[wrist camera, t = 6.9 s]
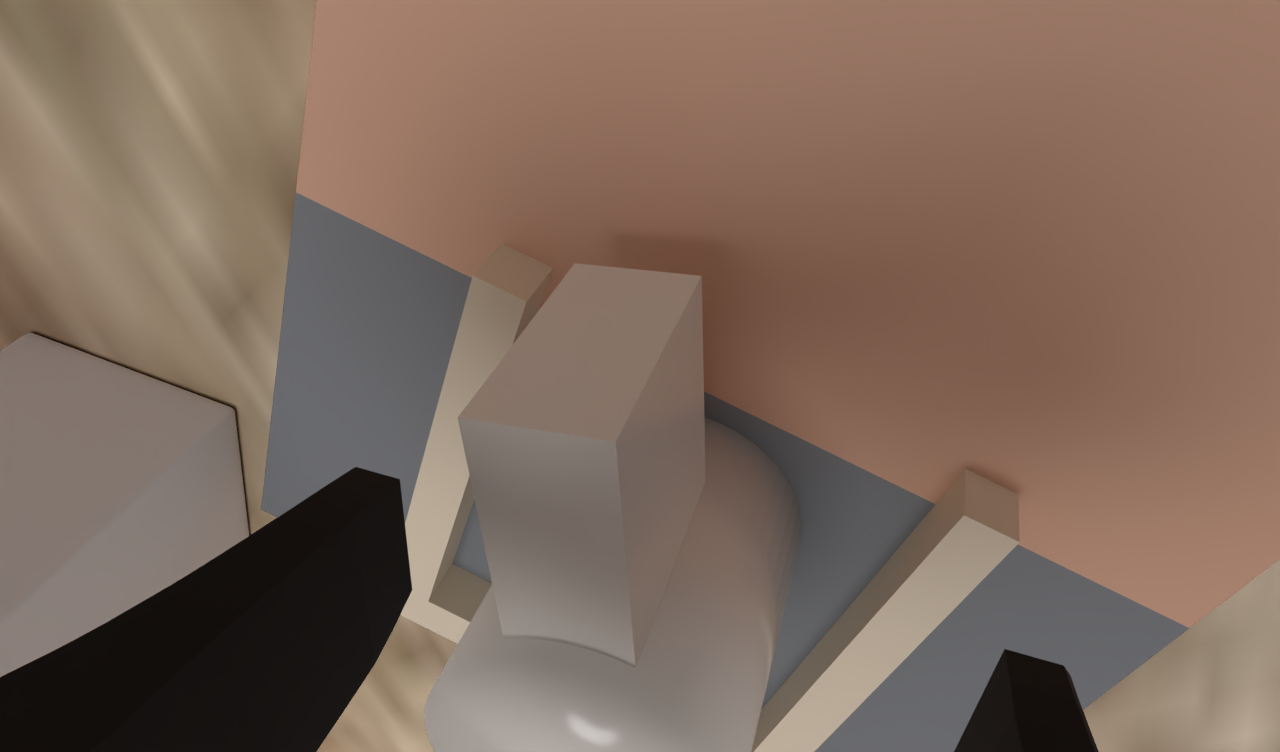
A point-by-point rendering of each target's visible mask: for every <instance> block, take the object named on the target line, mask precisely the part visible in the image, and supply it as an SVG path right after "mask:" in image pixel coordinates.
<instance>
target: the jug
mask: <svg viewBox="0 0 1280 752" xmlns="http://www.w3.org/2000/svg"><path fill="white" fill-rule="evenodd" d="M458 422H459V427H460V432H461V437H462V441H463V446H464V451H465V456H466V461H467V465H468V470H469V475H470V480H471V485H472V489H473V494H474V499H475V504H476V509H477V513H478V518H479V523H480V528H481V533H482V537H483V542H484V547H485V552H486V557H487V561H488V566H489V571H490V576H491V580H492V585H491V587H490V589H489V591H488V592H487V594H486V596H485V598H484V599H483V601H482V603H481V605H480V606H479V608H478V610H477V612H476V613H475V615H474V617H473V618H472V620H471V622H470V624H469V625H468V627H467V629H466V631H465V632H464V634H463V636H462V638H461V639H460V641H459V643H458V645H457V646H456V648H455V650H454V652H453V653H452V655H451V657H450V658H449V660H448V662H447V664H446V665H445V667H444V669H443V671H442V672H441V674H440V676H439V678H438V679H437V681H436V683H435V685H434V686H433V688H432V690H431V692H430V694H429V696H428V698H427V701H426V705H425V710H424V717H425V726H426V731H427V735H428V738H429V740H430V743H431V745H432V747H433V749H434V751H435V752H751V751H752V746H753V742H754V738H755V734H756V729H757V725H758V721H759V717H760V712H761V708H762V704H763V699H764V695H765V691H766V687H767V682H768V678H769V674H770V670H771V665H772V661H773V657H774V652H775V648H776V644H777V640H778V635H779V631H780V627H781V623H782V618H783V614H784V610H785V605H786V601H787V597H788V593H789V588H790V584H791V580H792V576H793V571H794V567H795V563H796V558H797V554H798V550H799V546H800V541H801V534H802V516H801V511H800V506H799V503H798V500H797V498H796V495H795V492H794V490H793V488H792V487H791V485H790V483H789V481H788V479H787V478H786V476H785V475H784V474H783V472H782V471H781V470H780V468H779V467H778V466H777V465H776V463H775V462H774V461H773V460H772V459H771V458H770V457H769V456H768V455H767V454H766V453H765V452H764V451H762V450H761V449H760V448H759V447H758V446H757V445H755V444H754V443H753V442H751V441H750V440H748V439H747V438H746V437H744V436H743V435H741V434H740V433H738V432H736V431H734V430H732V429H730V428H729V427H727V426H725V425H723V424H720V423H718V422H716V421H713V420H711V419H708V418H705V417H704V369H703V317H702V276H698V275H688V274H678V273H668V272H658V271H648V270H638V269H628V268H618V267H608V266H598V265H588V264H578V263H575V264H574V265H573V266H572V268H571V269H570V270H569V272H568V273H567V274H566V275H565V277H564V278H563V279H562V281H561V282H560V283H559V285H558V286H557V287H556V289H555V290H554V291H553V293H552V294H551V295H550V297H549V298H548V299H547V301H546V302H545V303H544V304H543V306H542V307H541V308H540V310H539V311H538V312H537V314H536V315H535V316H534V318H533V319H532V320H531V322H530V323H529V324H528V326H527V327H526V328H525V329H524V331H523V332H522V333H521V335H520V336H519V337H518V339H517V340H516V341H515V343H514V344H513V345H512V347H511V348H510V349H509V351H508V352H507V353H506V355H505V356H504V357H503V358H502V360H501V361H500V362H499V364H498V365H497V366H496V368H495V369H494V370H493V372H492V373H491V374H490V376H489V377H488V378H487V380H486V381H485V382H484V383H483V385H482V386H481V387H480V389H479V390H478V391H477V393H476V394H475V395H474V397H473V398H472V399H471V401H470V402H469V403H468V405H467V406H466V407H465V409H464V410H463V411H462V412H461V414H460V415H459V416H458Z"/></svg>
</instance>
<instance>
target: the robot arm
mask: <svg viewBox="0 0 1280 752" xmlns="http://www.w3.org/2000/svg"><path fill="white" fill-rule="evenodd" d="M411 592H412V583H411V574H410V565H409V556H408V547H407V538H406V529H405V520H404V512H403V503H402V494H401V485H400V479H397V478H394V477H390V476H387V475H383V474H380V473H376V472H373V471H369V470H365V469H362V468H358V467H355V468H353V469H351V470H350V471H348V472H347V473H345V474H344V475H342V476H340V477H339V478H337V479H336V480H334V481H332V482H331V483H329V484H328V485H326V486H325V487H323V488H322V489H320V490H319V491H317V492H316V493H314V494H312V495H311V496H309V497H308V498H306V499H305V500H303V501H302V502H300V503H299V504H297V505H296V506H294V507H293V508H291V509H290V510H288V511H287V512H285V513H284V514H282V515H281V516H279V517H278V518H276V519H274V520H273V521H271V522H270V523H268V524H267V525H265V526H264V527H262V528H261V529H259V530H258V531H256V532H255V533H253V534H251V535H250V536H248V537H247V538H245V539H244V540H242V541H241V542H239V543H237V544H236V545H234V546H233V547H231V548H229V549H228V550H226V551H225V552H223V553H222V554H220V555H218V556H217V557H215V558H214V559H212V560H210V561H209V562H207V563H206V564H204V565H203V566H201V567H199V568H198V569H196V570H195V571H193V572H191V573H190V574H188V575H187V576H185V577H183V578H182V579H180V580H178V581H177V582H175V583H173V584H172V585H170V586H168V587H167V588H165V589H163V590H161V591H160V592H158V593H156V594H155V595H153V596H151V597H149V598H148V599H146V600H144V601H142V602H141V603H139V604H137V605H136V606H134V607H132V608H130V609H129V610H127V611H125V612H123V613H122V614H120V615H118V616H117V617H115V618H113V619H111V620H110V621H108V622H106V623H104V624H103V625H101V626H99V627H97V628H95V629H93V630H92V631H90V632H88V633H86V634H84V635H82V636H80V637H79V638H77V639H75V640H73V641H71V642H69V643H67V644H65V645H63V646H62V647H60V648H58V649H56V650H54V651H52V652H50V653H48V654H46V655H44V656H42V657H40V658H38V659H36V660H34V661H32V662H30V663H28V664H26V665H24V666H22V667H20V668H18V669H16V670H14V671H11V672H9V673H7V674H5V675H3V676H1V677H0V752H316V751H317V750H318V748H319V747H320V745H321V744H322V742H323V741H324V739H325V738H326V736H327V735H328V733H329V732H330V730H331V729H332V728H333V726H334V725H335V723H336V722H337V720H338V719H339V717H340V716H341V714H342V713H343V711H344V710H345V708H346V707H347V705H348V704H349V702H350V701H351V699H352V698H353V696H354V695H355V693H356V692H357V690H358V689H359V687H360V686H361V684H362V683H363V681H364V680H365V678H366V677H367V675H368V673H369V672H370V670H371V669H372V667H373V666H374V664H375V663H376V661H377V659H378V657H379V655H380V653H381V651H382V649H383V647H384V646H385V644H386V642H387V640H388V638H389V636H390V634H391V632H392V630H393V628H394V626H395V624H396V622H397V620H398V618H399V616H400V614H401V612H402V610H403V608H404V606H405V604H406V602H407V600H408V598H409V596H410V594H411ZM954 752H1098V749H1097V747H1096V744H1095V742H1094V739H1093V736H1092V734H1091V731H1090V728H1089V726H1088V723H1087V720H1086V718H1085V715H1084V712H1083V709H1082V707H1081V704H1080V701H1079V698H1078V695H1077V693H1076V690H1075V687H1074V684H1073V681H1072V678H1071V675H1070V674H1069V672H1068V671H1067V670H1066V668H1065V667H1064V665H1060V664H1057V663H1053V662H1050V661H1046V660H1043V659H1039V658H1035V657H1032V656H1028V655H1025V654H1021V653H1018V652H1014V651H1010V650H1007V649H1004V651H1003V653H1002V655H1001V657H1000V659H999V661H998V663H997V665H996V667H995V669H994V671H993V673H992V675H991V677H990V680H989V682H988V684H987V686H986V688H985V690H984V692H983V694H982V696H981V698H980V700H979V702H978V704H977V706H976V708H975V710H974V712H973V714H972V716H971V718H970V720H969V722H968V724H967V726H966V728H965V730H964V732H963V734H962V736H961V738H960V741H959V743H958V745H957V747H956V749H955V751H954Z"/></svg>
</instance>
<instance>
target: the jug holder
mask: <svg viewBox="0 0 1280 752" xmlns="http://www.w3.org/2000/svg"><path fill="white" fill-rule="evenodd" d="M575 263H578V264H588V265H598V266H608V267H618V268H628V269H638V270H648V271H658V272H668V273H678V274H688V275H698V276H702V317H703V369H704V417H705V418H708V419H711V420H713V421H716V422H718V423H720V424H723V425H725V426H727V427H729V428H730V429H732V430H734V431H736V432H738V433H740V434H741V435H743V436H744V437H746V438H747V439H748V440H750V441H751V442H753V443H754V444H755V445H757V446H758V447H759V448H760V449H761V450H762V451H764V452H765V453H766V454H767V455H768V456H769V457H770V458H771V459H772V460H773V461H774V462H775V463H776V465H777V466H778V467H779V468H780V470H781V471H782V472H783V474H784V475H785V476H786V478H787V479H788V481H789V483H790V485H791V487H792V488H793V490H794V492H795V495H796V498H797V500H798V503H799V506H800V511H801V516H802V534H801V541H800V546H799V550H798V554H797V558H796V563H795V567H794V571H793V576H792V580H791V584H790V588H789V593H788V597H787V601H786V605H785V610H784V614H783V618H782V623H781V627H780V631H779V635H778V640H777V644H776V648H775V652H774V657H773V661H772V665H771V670H770V674H769V678H768V682H767V687H766V691H765V695H764V699H763V704H762V708H761V712H760V717H759V721H758V725H757V729H756V734H755V738H754V742H753V746H752V751H751V752H954V751H955V749H956V747H957V745H958V743H959V741H960V738H961V736H962V734H963V732H964V730H965V728H966V726H967V724H968V722H969V720H970V718H971V716H972V714H973V712H974V710H975V708H976V706H977V704H978V702H979V700H980V698H981V696H982V694H983V692H984V690H985V688H986V686H987V684H988V682H989V680H990V677H991V675H992V673H993V671H994V669H995V667H996V665H997V663H998V661H999V659H1000V657H1001V655H1002V653H1003V651H1004V649H1007V650H1010V651H1014V652H1018V653H1021V654H1025V655H1028V656H1032V657H1035V658H1039V659H1043V660H1046V661H1050V662H1053V663H1057V664H1060V665H1064V667H1065V668H1066V670H1067V671H1068V672H1069V674H1070V675H1071V678H1072V681H1073V684H1074V687H1075V690H1076V693H1077V695H1078V698H1079V701H1080V704H1081V707H1082V709H1085V708H1086V707H1087V706H1089V705H1090V704H1091V703H1092V702H1094V701H1095V700H1096V699H1098V698H1099V697H1100V696H1102V695H1103V694H1104V693H1105V692H1107V691H1108V690H1109V689H1111V688H1112V687H1113V686H1115V685H1116V684H1117V683H1118V682H1120V681H1121V680H1122V679H1124V678H1125V677H1126V676H1128V675H1129V674H1130V673H1131V672H1133V671H1134V670H1135V669H1137V668H1138V667H1139V666H1141V665H1142V664H1143V663H1145V662H1146V661H1147V660H1148V659H1150V658H1151V657H1152V656H1154V655H1155V654H1156V653H1158V652H1159V651H1160V650H1161V649H1163V648H1164V647H1165V646H1167V645H1168V644H1169V643H1171V642H1172V641H1173V640H1174V639H1176V638H1177V637H1178V636H1180V635H1181V634H1182V633H1184V632H1185V631H1186V630H1187V629H1189V628H1190V627H1191V626H1193V625H1194V624H1195V623H1197V622H1198V621H1199V620H1201V619H1202V618H1203V617H1204V616H1206V615H1207V614H1208V613H1210V612H1211V611H1212V610H1214V609H1215V608H1216V607H1217V606H1219V605H1220V604H1221V603H1223V602H1224V601H1225V600H1227V599H1228V598H1229V597H1230V596H1232V595H1233V594H1234V593H1236V592H1237V591H1238V590H1240V589H1241V588H1242V587H1243V586H1245V585H1246V584H1247V583H1249V582H1250V581H1251V580H1253V579H1254V578H1255V577H1257V576H1258V575H1259V574H1260V573H1262V572H1263V571H1264V570H1266V569H1267V568H1268V567H1270V566H1271V565H1272V564H1273V563H1275V562H1276V561H1277V560H1279V559H1280V0H317V6H316V15H315V24H314V33H313V42H312V51H311V60H310V69H309V78H308V88H307V97H306V106H305V115H304V124H303V133H302V142H301V151H300V160H299V169H298V178H297V188H296V197H295V206H294V215H293V224H292V233H291V242H290V251H289V260H288V269H287V278H286V288H285V297H284V306H283V315H282V324H281V333H280V342H279V351H278V360H277V369H276V378H275V387H274V397H273V406H272V415H271V424H270V433H269V442H268V451H267V460H266V469H265V478H264V487H263V497H262V506H261V510H263V511H265V512H267V513H269V514H271V515H274V516H276V517H279V516H281V515H282V514H284V513H285V512H287V511H288V510H290V509H291V508H293V507H294V506H296V505H297V504H299V503H300V502H302V501H303V500H305V499H306V498H308V497H309V496H311V495H312V494H314V493H316V492H317V491H319V490H320V489H322V488H323V487H325V486H326V485H328V484H329V483H331V482H332V481H334V480H336V479H337V478H339V477H340V476H342V475H344V474H345V473H347V472H348V471H350V470H351V469H353V468H355V467H358V468H362V469H365V470H369V471H373V472H376V473H380V474H383V475H387V476H390V477H394V478H397V479H400V485H401V494H402V503H403V512H404V520H405V529H406V538H407V547H408V556H409V565H410V574H411V583H412V592H411V594H410V596H409V598H408V600H407V602H406V604H405V606H404V608H403V610H402V612H401V614H400V615H401V616H403V617H405V618H407V619H409V620H411V621H413V622H415V623H417V624H419V625H421V626H423V627H425V628H427V629H429V630H431V631H433V632H435V633H437V634H439V635H441V636H443V637H445V638H447V639H449V640H451V641H453V642H455V643H457V644H458V643H459V641H460V639H461V638H462V636H463V634H464V632H465V631H466V629H467V627H468V625H469V624H470V622H471V620H472V618H473V617H474V615H475V613H476V612H477V610H478V608H479V606H480V605H481V603H482V601H483V599H484V598H485V596H486V594H487V592H488V591H489V589H490V587H491V585H492V580H491V576H490V571H489V566H488V561H487V557H486V552H485V547H484V542H483V537H482V533H481V528H480V523H479V518H478V513H477V509H476V504H475V499H474V494H473V489H472V485H471V480H470V475H469V470H468V465H467V461H466V456H465V451H464V446H463V441H462V437H461V432H460V427H459V422H458V416H459V415H460V414H461V412H462V411H463V410H464V409H465V407H466V406H467V405H468V403H469V402H470V401H471V399H472V398H473V397H474V395H475V394H476V393H477V391H478V390H479V389H480V387H481V386H482V385H483V383H484V382H485V381H486V380H487V378H488V377H489V376H490V374H491V373H492V372H493V370H494V369H495V368H496V366H497V365H498V364H499V362H500V361H501V360H502V358H503V357H504V356H505V355H506V353H507V352H508V351H509V349H510V348H511V347H512V345H513V344H514V343H515V341H516V340H517V339H518V337H519V336H520V335H521V333H522V332H523V331H524V329H525V328H526V327H527V326H528V324H529V323H530V322H531V320H532V319H533V318H534V316H535V315H536V314H537V312H538V311H539V310H540V308H541V307H542V306H543V304H544V303H545V302H546V301H547V299H548V298H549V297H550V295H551V294H552V293H553V291H554V290H555V289H556V287H557V286H558V285H559V283H560V282H561V281H562V279H563V278H564V277H565V275H566V274H567V273H568V272H569V270H570V269H571V268H572V266H573V265H574V264H575Z"/></svg>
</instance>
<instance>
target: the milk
mask: <svg viewBox="0 0 1280 752" xmlns="http://www.w3.org/2000/svg"><path fill="white" fill-rule="evenodd" d="M248 536H249V530H248V521H247V513H246V504H245V495H244V486H243V478H242V469H241V460H240V452H239V443H238V434H237V426H236V417H235V411H234V409H233V408H231V407H229V406H226V405H223V404H221V403H218V402H215V401H213V400H210V399H207V398H205V397H202V396H199V395H197V394H194V393H191V392H189V391H186V390H183V389H181V388H178V387H175V386H173V385H170V384H167V383H165V382H162V381H159V380H157V379H154V378H151V377H149V376H146V375H143V374H141V373H138V372H135V371H133V370H130V369H127V368H125V367H122V366H119V365H117V364H114V363H111V362H109V361H106V360H103V359H101V358H98V357H95V356H93V355H90V354H87V353H85V352H82V351H79V350H77V349H74V348H71V347H69V346H66V345H63V344H61V343H58V342H55V341H53V340H50V339H47V338H45V337H42V336H39V335H36V334H33V333H28V334H26V335H24V336H22V337H20V338H19V339H17V340H16V341H14V342H12V343H11V344H9V345H8V346H6V347H5V348H3V349H2V350H0V677H1V676H3V675H5V674H7V673H9V672H11V671H14V670H16V669H18V668H20V667H22V666H24V665H26V664H28V663H30V662H32V661H34V660H36V659H38V658H40V657H42V656H44V655H46V654H48V653H50V652H52V651H54V650H56V649H58V648H60V647H62V646H63V645H65V644H67V643H69V642H71V641H73V640H75V639H77V638H79V637H80V636H82V635H84V634H86V633H88V632H90V631H92V630H93V629H95V628H97V627H99V626H101V625H103V624H104V623H106V622H108V621H110V620H111V619H113V618H115V617H117V616H118V615H120V614H122V613H123V612H125V611H127V610H129V609H130V608H132V607H134V606H136V605H137V604H139V603H141V602H142V601H144V600H146V599H148V598H149V597H151V596H153V595H155V594H156V593H158V592H160V591H161V590H163V589H165V588H167V587H168V586H170V585H172V584H173V583H175V582H177V581H178V580H180V579H182V578H183V577H185V576H187V575H188V574H190V573H191V572H193V571H195V570H196V569H198V568H199V567H201V566H203V565H204V564H206V563H207V562H209V561H210V560H212V559H214V558H215V557H217V556H218V555H220V554H222V553H223V552H225V551H226V550H228V549H229V548H231V547H233V546H234V545H236V544H237V543H239V542H241V541H242V540H244V539H245V538H247V537H248Z"/></svg>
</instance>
